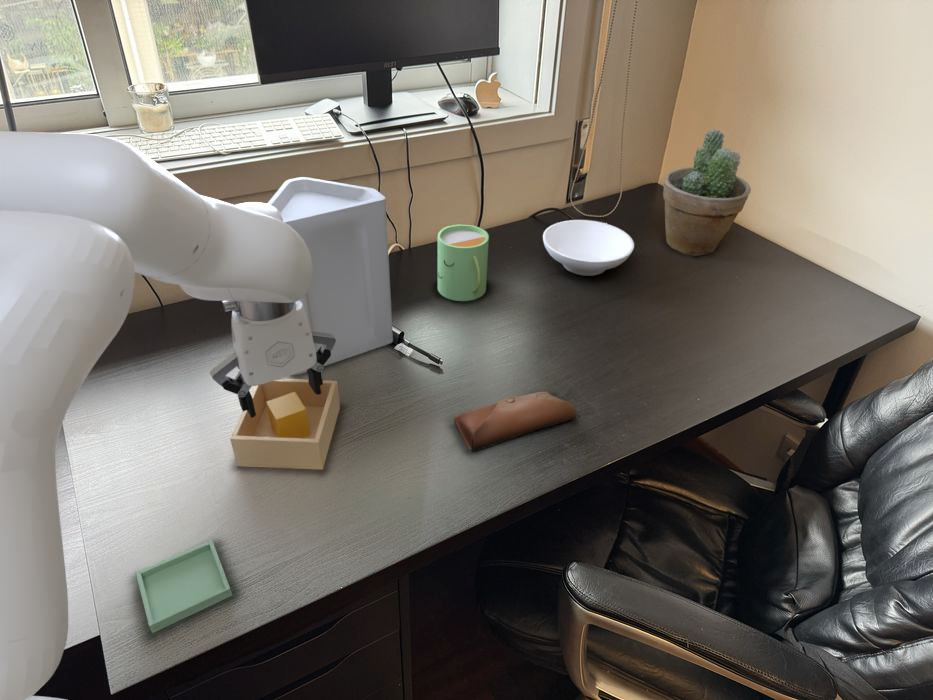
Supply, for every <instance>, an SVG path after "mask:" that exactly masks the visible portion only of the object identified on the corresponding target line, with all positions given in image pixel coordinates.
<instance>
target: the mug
mask: <svg viewBox="0 0 933 700" xmlns="http://www.w3.org/2000/svg"><path fill="white" fill-rule="evenodd" d="M489 241H490V237H489V233H488V232H487V231H486V230H485V229H483V228H481V227H479V226H477V225H472V224H452V225H449V226H446V227H445V226H444V227H443V228H442V229H440V230H439V231H438V233H437V247H436V249H435V256H437V291H438V293H439V294H440V295H441V296H442V297H444V298H445V299H448V300H451V301H457V302H469V301H474V300H477V299H479V298H481V297H482V296H484V294H485V293H486V292H487V291H486V290H487V279H488V278H487V277H488V260H489V258H488V257H489Z"/></svg>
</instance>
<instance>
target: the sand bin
mask: <svg viewBox="0 0 933 700" xmlns="http://www.w3.org/2000/svg"><path fill="white" fill-rule="evenodd" d="M322 381H323V385H320V389H321V394H319V395H317V394H315V393H314V391H313V390H312V388H311V387H310V385H309V381H308V379H302V378H301V379H300V378H299V379H298V378H296V379H295V378H280V379H277V380H274V381H271V382H268V383H265V384H261V385H257V386H252V390H251V391H250V393H251V395H252V399H253V404H254V408H255V413H256V415H255V417H252V418H251V417H250V415H249V413H248V411H247V410H246V411H243V410H242V411H241V414H240V416H239V418H238V420H237V423H236V424H235V426H234V429H233V431H232V433H231V435H230V438H229V440H230V444H231V448H232V451H233V454H234V455H233V456H234V458H235V462H236V466H237V467H244V468H247V467H248V468H269V469H270V468H271V469H292V470H293V469H296V470H319V471H322V470H324V467H325V463H326V460H327V456H328V453H329V450H330V446H331V442H332V439H333V434H334V431H335V428H336V423H337V421H338V417H339V413H340V409H341V403H340V394H339V386H338V381H337V380H326V379H325V380H323V379H322ZM293 392H296V394H297V396H298V397H299V399H300V400H301V402H302V404H303V405H304V407H305V408H306V412H307V418H308V424H309V430H310V436H308V437H306V438H279V437H276V435H275V434H274V432H273V430H272V427H271V423H270V418H269V414H268V409H267V404H266V402H267V401H270V400H273V399H276V398H279V397H281V396H284V395H287V394H290V393H293Z"/></svg>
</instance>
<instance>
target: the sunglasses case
mask: <svg viewBox="0 0 933 700" xmlns="http://www.w3.org/2000/svg"><path fill="white" fill-rule="evenodd" d="M575 418H576V408H575V405H574V404H573V403H572V402H571V401H569V400H566V399H561V398H559V397H557V396H555V395H552V394H551V393H550V392H548V391H537V392H532V393H528V394H527V393H526V394H523V395H519V396H511V397H507V398H503V399H500V400H498V401H497V402H494V403H491V404H488V405H484V406H481V407H477V408H474V409H470V410H469V411H464V412H462V413H459V414H457V415H456V416H454V424H455V426H456V428H457V430H458V432H459V434H460V435H461V439H463V442H464V444H465V445H466V447H467V449H468V450H469V451H470V452H474V451H478V450H479V451H480V450H482V449H484V448H488V447H490V446H493V445H495V444H499V443H501V442H504V441H506V440H507V441H508V440H510V439H513V438H514V437H518V436H522V435H525V434H528V433H531V432H534V431H537V430H541V429H544V428H548V427H551V426H555V425H557V424H561V423H564V422H567V421H568V422H569V421H571V420H574V419H575Z"/></svg>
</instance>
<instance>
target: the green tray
mask: <svg viewBox="0 0 933 700" xmlns="http://www.w3.org/2000/svg"><path fill="white" fill-rule="evenodd" d="M135 576H136V580H137V584H138V588H139V593H140V596H141V600H142V605H143V608H144V613H145V616H146V620H147V624H148V628H149V629H150V631H151V633H152V634H155V633H156V632H158V631H160V630H163V629H165V628H167V627H169V626H171V625H173V624H175V623H179V621H182V620H184V619H187V618H188V617H190V616H193V615H195V614H196V613H198V612H201V611H203V610H205V609H208V608H210V607H211V606H213V605H216V604H218V603H221V602H222V601H224V600H227V599H228V598H231V597H233V592H232V590H231V587H230V584H229V581H228V578H227V575H226V573H225V571H224V567H223V566H222V563H221V560H220V557H219V554H218V552H217V549H216V546H215V544H214V541H213V540H212V539H211V540H209V541H206V542H204V543H201V544H199V545H196V546H194V547H192V548H189V549H187V550H185V551H182V552H180V553H178V554H175V555H173V556H171V557H168V558H166V559H164V560H161V561H159V562H156V563H154V564H152V565H150V566H147V567H145V568H143V569H140V570H137V571H136V572H135Z"/></svg>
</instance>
